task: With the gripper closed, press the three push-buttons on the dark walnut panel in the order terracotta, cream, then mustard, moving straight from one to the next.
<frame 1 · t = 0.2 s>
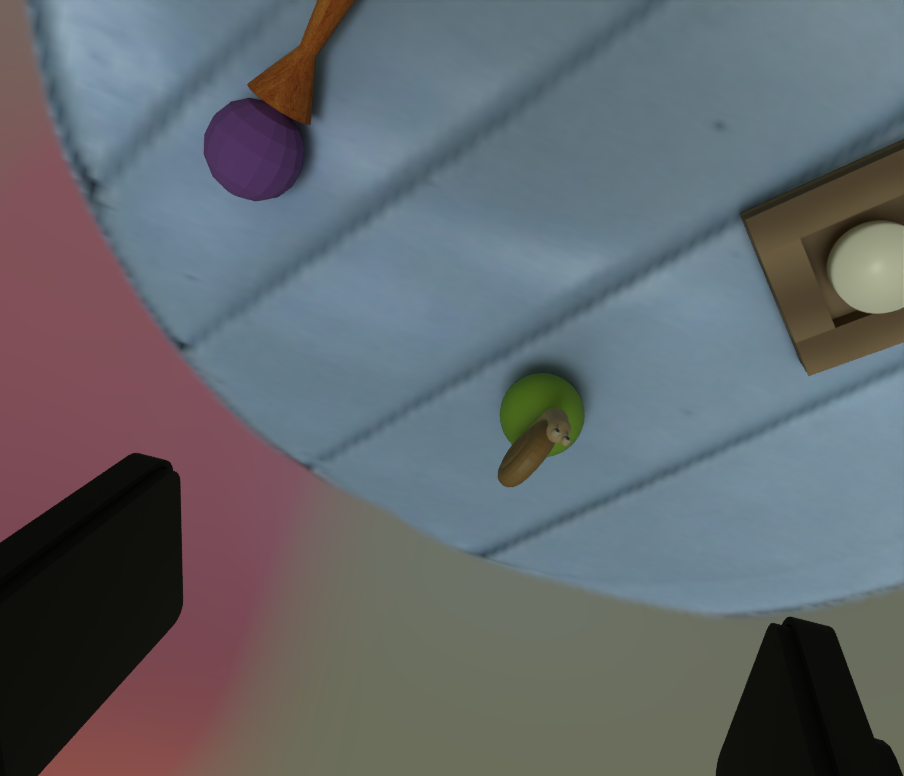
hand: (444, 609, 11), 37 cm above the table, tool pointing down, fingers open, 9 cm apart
purple and brown maraca: (327, 49, 45), on the table
snail figurine: (551, 393, 49), on the table
cream button: (878, 266, 38), point 4 cm above the table, slide at 0.0 cm
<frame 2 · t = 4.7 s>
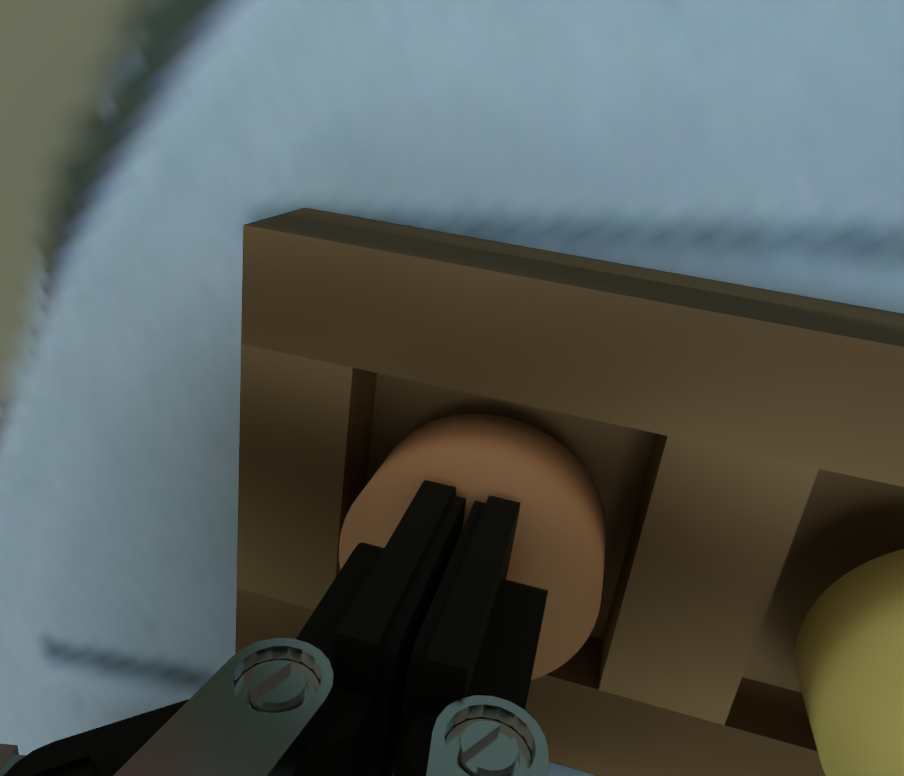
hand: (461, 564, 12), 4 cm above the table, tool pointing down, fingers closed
button panel: (893, 566, 14), on the table
terracotta button: (475, 549, 13), point 3 cm above the table, slide at 0.7 cm, touching gripper
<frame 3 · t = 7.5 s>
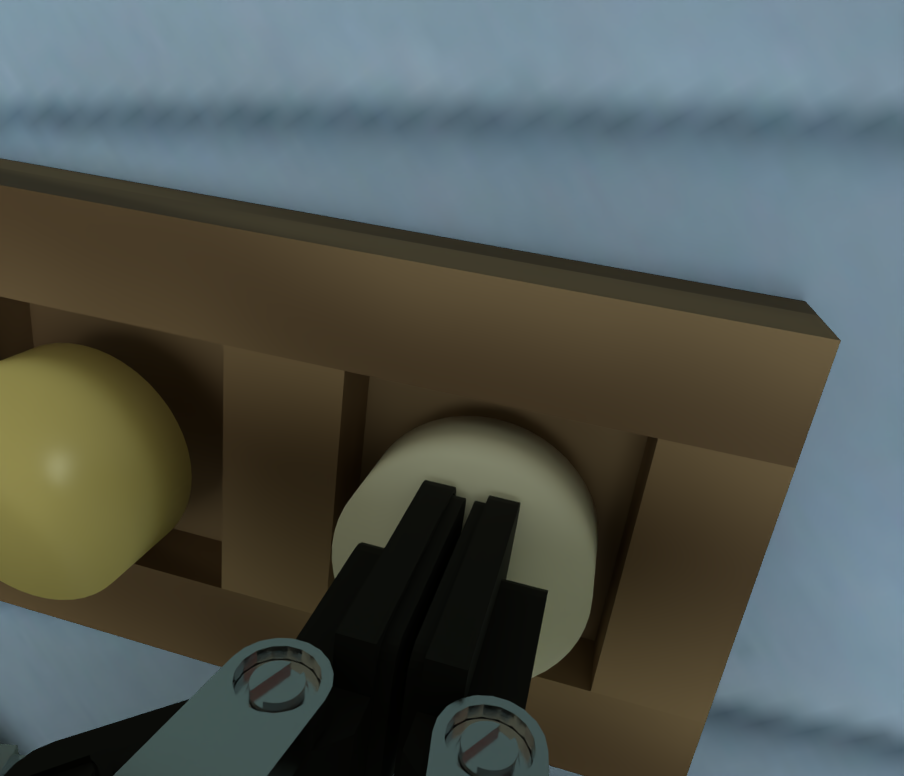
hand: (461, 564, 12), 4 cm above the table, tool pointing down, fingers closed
mustard button: (57, 470, 14), point 4 cm above the table, slide at 0.0 cm
button panel: (170, 401, 17), on the table
cream button: (468, 550, 13), point 3 cm above the table, slide at 0.8 cm, touching gripper
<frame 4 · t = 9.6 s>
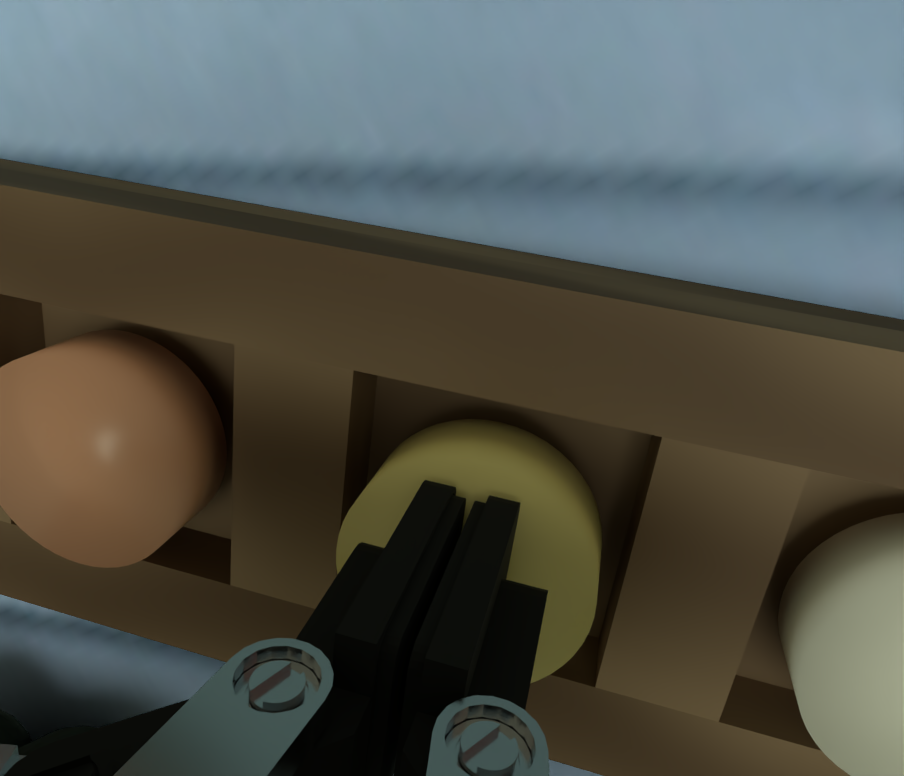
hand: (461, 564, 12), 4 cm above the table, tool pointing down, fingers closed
mustard button: (472, 553, 13), point 3 cm above the table, slide at 0.6 cm, touching gripper
button panel: (502, 476, 16), on the table
terracotta button: (103, 448, 15), point 3 cm above the table, slide at 1.0 cm
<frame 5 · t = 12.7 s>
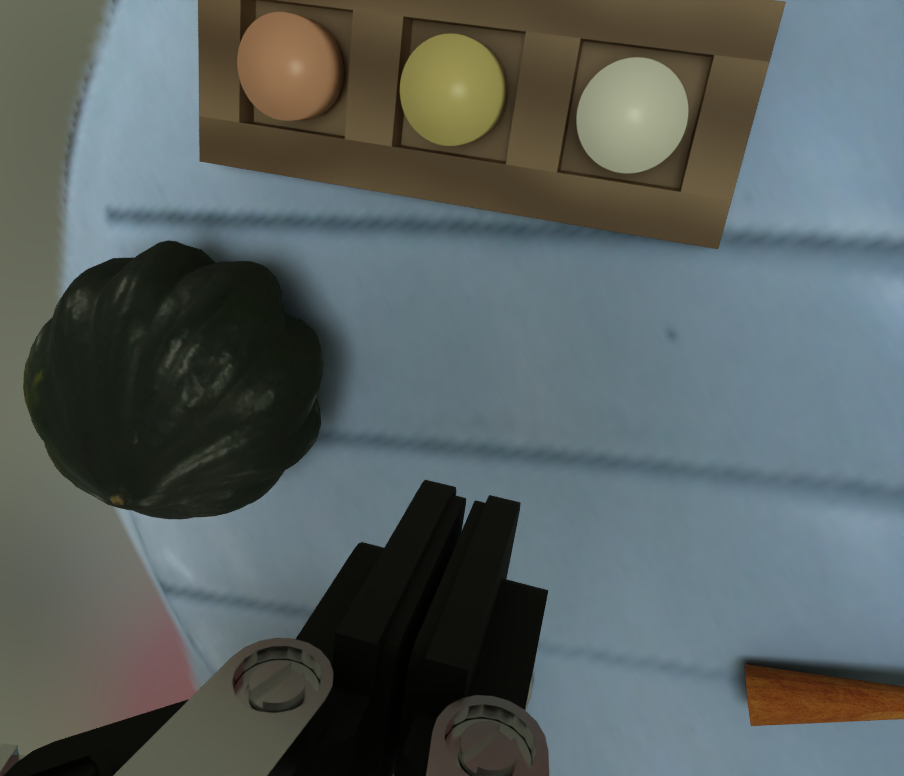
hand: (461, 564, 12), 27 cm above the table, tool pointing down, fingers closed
mustard button: (454, 91, 33), point 3 cm above the table, slide at 1.0 cm
squash: (241, 348, 44), on the table
button panel: (467, 92, 35), on the table
terracotta button: (291, 68, 34), point 3 cm above the table, slide at 1.0 cm
cream button: (631, 116, 31), point 3 cm above the table, slide at 1.0 cm
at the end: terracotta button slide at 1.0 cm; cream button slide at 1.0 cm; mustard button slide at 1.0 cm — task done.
